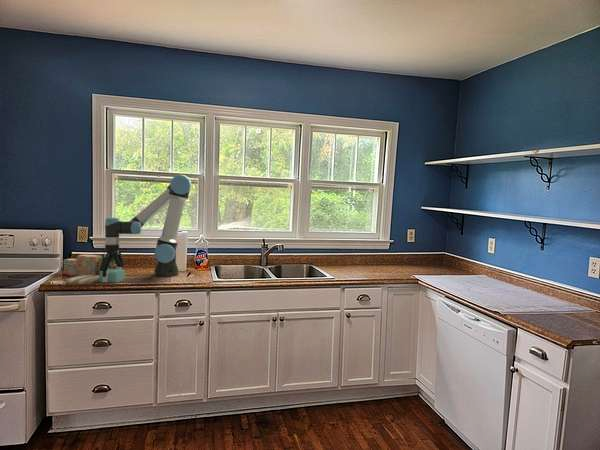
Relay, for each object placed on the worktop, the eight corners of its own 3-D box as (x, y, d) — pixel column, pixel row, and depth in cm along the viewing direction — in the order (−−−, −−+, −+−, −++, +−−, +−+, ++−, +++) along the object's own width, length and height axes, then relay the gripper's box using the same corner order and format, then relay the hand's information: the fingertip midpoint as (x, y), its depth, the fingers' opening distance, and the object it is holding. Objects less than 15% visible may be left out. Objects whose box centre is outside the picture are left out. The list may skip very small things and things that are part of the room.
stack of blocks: (63, 274, 250) (63, 255, 249) (70, 272, 256) (69, 253, 255) (95, 276, 248) (95, 256, 247) (101, 274, 254) (101, 255, 253)
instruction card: (69, 282, 230) (69, 281, 230) (60, 284, 223) (60, 284, 223) (53, 281, 231) (53, 280, 231) (44, 283, 224) (44, 283, 224)
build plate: (107, 278, 242) (107, 275, 242) (89, 283, 226) (89, 281, 226) (83, 276, 244) (83, 274, 244) (64, 282, 228) (64, 279, 228)
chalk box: (105, 273, 255) (105, 250, 254) (120, 274, 255) (120, 251, 254) (98, 276, 246) (97, 252, 245) (112, 277, 246) (112, 253, 245)
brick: (124, 279, 242) (124, 269, 241) (116, 282, 232) (116, 272, 232) (108, 278, 242) (108, 268, 242) (99, 282, 233) (99, 271, 232)
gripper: (118, 241, 248) (118, 275, 250) (92, 246, 224) (92, 283, 226) (129, 242, 247) (129, 276, 249) (105, 246, 223) (105, 284, 224)
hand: (112, 279), depth 237 cm, fingers open, 12 cm apart
